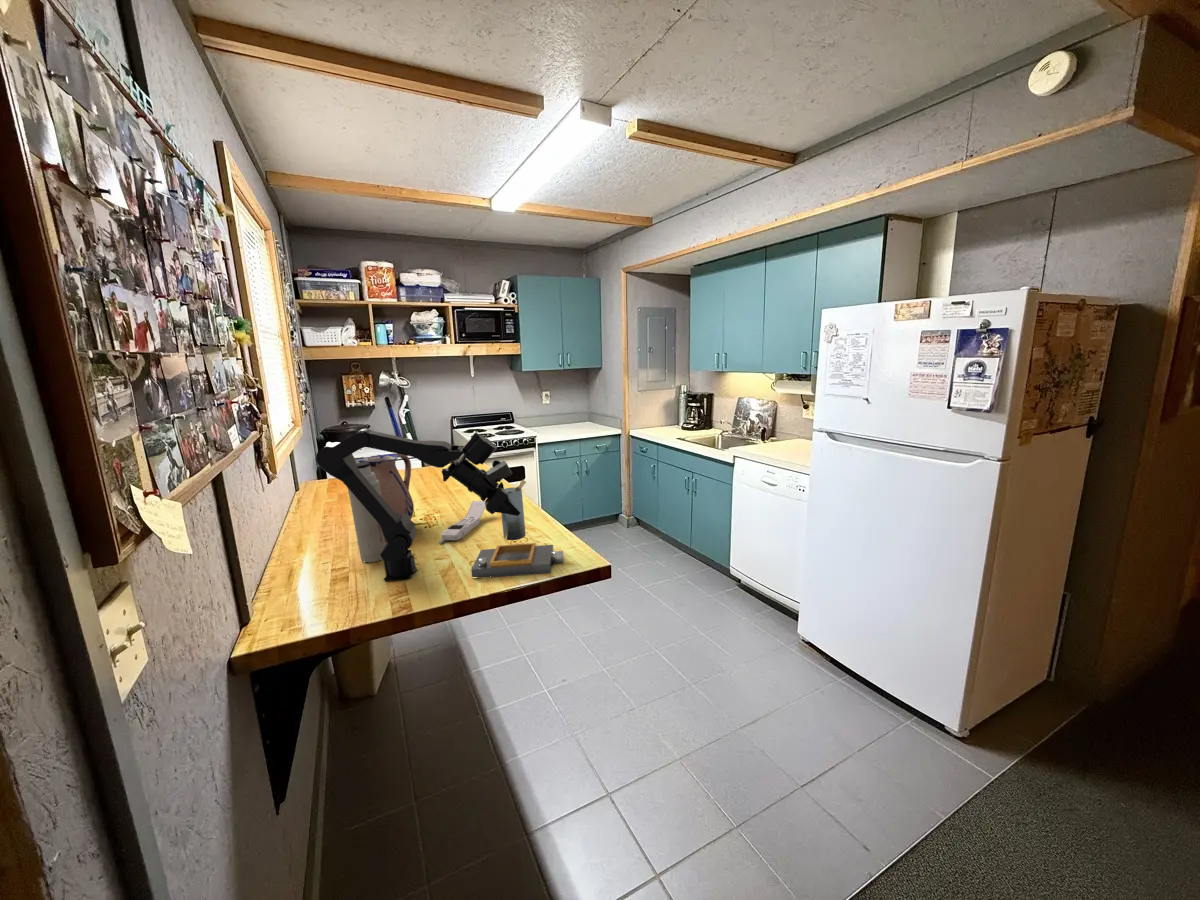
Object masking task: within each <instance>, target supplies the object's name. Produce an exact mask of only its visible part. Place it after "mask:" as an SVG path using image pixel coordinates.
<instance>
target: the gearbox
mask: <svg viewBox="0 0 1200 900" xmlns="http://www.w3.org/2000/svg"><path fill="white" fill-rule="evenodd" d="M477 555H478V556H477V557H476V560H475V561H474V563H473V565H472V567H471V570H470V572H471V578H472V577H489V578H499V577H500V578H501V577H502V578H503V577H513V576H515V577H516V576H528V575H542V574H551V573H552V567H553V564H556V563H557V564H558V563H564V561H565V560H564V551H563V550H557V551H556V550H554V545H553V544H544V545H537V544H536V542H530V543H529V542H528V543H516V544H515V543H514V544H513V543H512V544H500V545H496V547H495V548H489V549H481V550H480V551H479V553H478V554H477ZM490 576H491V577H490Z"/></svg>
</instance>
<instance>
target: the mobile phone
mask: <svg viewBox="0 0 1200 900" xmlns="http://www.w3.org/2000/svg"><path fill="white" fill-rule="evenodd" d="M485 501H486V500H485ZM485 501H482V500H473V501H472V502H471V503H470V506H469V508H468V510H467V513H466V516H464V517H463V518H461V519H460V520H459V521H457V522H456V523H454V524H451V525H450V526H449V527H448V528H446V529H445V530H444V531H443V532H442V533H441V534H440V536H441V539H440V540H439V541H438V544H439V545H441V544H443V543H444V542H445V541H458V540H461V539H464V538H465V536H466V535H468V534H469V533H470V532H471V531H472V530H474V529H475V528H476V527H477V526H479V525H480V523H481V522H480V519H481V517H482V515H483V513H484V511H485V510H486V507H485Z"/></svg>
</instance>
